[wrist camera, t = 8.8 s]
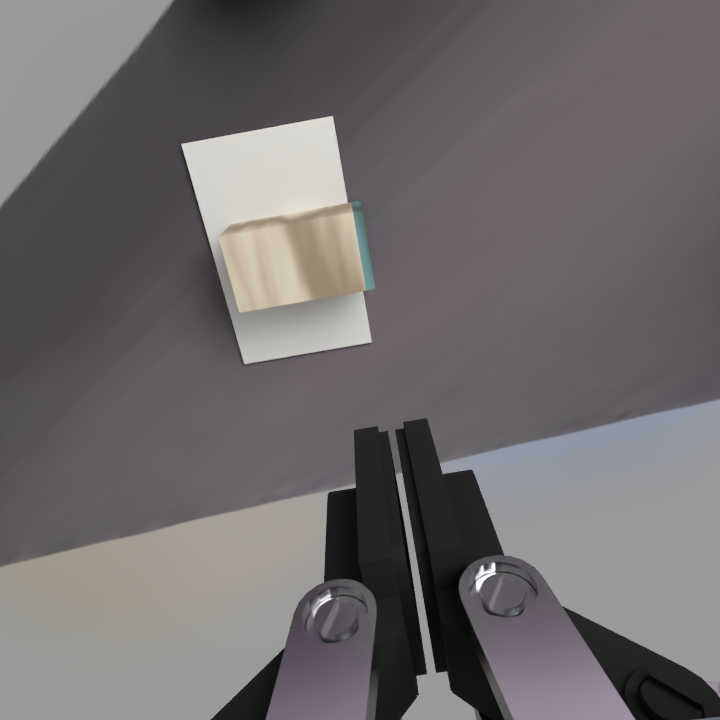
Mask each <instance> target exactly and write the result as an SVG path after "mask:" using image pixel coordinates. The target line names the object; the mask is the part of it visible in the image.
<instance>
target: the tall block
mask: <svg viewBox="0 0 720 720" xmlns="http://www.w3.org/2000/svg"><path fill="white" fill-rule="evenodd" d="M218 238H219V241H220V245H221V249H222V252H223V256H224V259H225V263H226V267H227V270H228V274H229V277H230V281H231V285H232V288H233V292H234V295H235V299H236V302H237V306H238V310H239V313H241V312H247V311H253V310H258V309H264V308H270V307H276V306H281V305H287V304H293V303H298V302H304V301H310V300H316V299H321V298H327V297H333V296H338V295H344V294H350V293H356V292H361V291H367V290H373V289H375V283H374V277H373V271H372V265H371V259H370V253H369V246H368V240H367V234H366V228H365V222H364V216H363V210H362V207H361V203H360V201H356V202H350V203H345V204H339V205H334V206H328V207H323V208H317V209H312V210H306V211H301V212H295V213H290V214H284V215H278V216H273V217H267V218H262V219H256V220H251V221H245V222H240V223H234V224H231V225H230V226H229V227H228V228H227V229H226V230H225V231H224V232H223V233H222V234H221V235H220V236H219V237H218Z"/></svg>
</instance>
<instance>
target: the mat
mask: <svg viewBox="0 0 720 720" xmlns="http://www.w3.org/2000/svg"><path fill="white" fill-rule="evenodd" d="M181 145H182V148H183V152H184V155H185V159H186V162H187V166H188V169H189V173H190V176H191V180H192V183H193V187H194V190H195V194H196V197H197V201H198V204H199V208H200V211H201V215H202V218H203V222H204V225H205V229H206V232H207V236H208V239H209V243H210V246H211V250H212V253H213V257H214V260H215V264H216V267H217V271H218V274H219V278H220V281H221V284H222V288H223V291H224V295H225V298H226V302H227V305H228V309H229V312H230V316H231V319H232V323H233V326H234V330H235V333H236V337H237V340H238V344H239V347H240V351H241V354H242V358H243V361H244V364H248V363H254V362H260V361H266V360H272V359H278V358H283V357H289V356H295V355H301V354H307V353H313V352H318V351H324V350H330V349H336V348H342V347H348V346H353V345H359V344H365V343H371V342H372V341H371V335H370V329H369V323H368V317H367V312H366V306H365V300H364V294H363V291H361V292H356V293H350V294H344V295H338V296H333V297H327V298H321V299H316V300H310V301H304V302H298V303H293V304H287V305H281V306H276V307H270V308H264V309H258V310H253V311H247V312H241V313H239V310H238V306H237V302H236V299H235V295H234V292H233V288H232V285H231V281H230V277H229V274H228V270H227V267H226V263H225V259H224V256H223V252H222V249H221V245H220V241H219V238H218V237H219V236H220V235H221V234H222V233H223V232H224V231H225V230H226V229H227V228H228V227H229V226H230V225H231V224H234V223H240V222H245V221H251V220H256V219H262V218H267V217H273V216H278V215H284V214H290V213H295V212H301V211H306V210H312V209H317V208H323V207H328V206H334V205H339V204H345V203H348V202H347V196H346V190H345V184H344V179H343V173H342V167H341V161H340V155H339V150H338V144H337V138H336V132H335V126H334V121H333V116H330V117H324V118H319V119H314V120H308V121H303V122H298V123H292V124H287V125H281V126H276V127H271V128H265V129H260V130H255V131H249V132H244V133H238V134H233V135H228V136H222V137H217V138H212V139H206V140H201V141H195V142H190V143H185V144H181Z"/></svg>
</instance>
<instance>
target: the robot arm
mask: <svg viewBox="0 0 720 720" xmlns="http://www.w3.org/2000/svg"><path fill="white" fill-rule="evenodd" d="M403 424H404V428H403V429H397V430H395V432H396V438H397V444H398V450H399V456H400V462H401V468H402V473H403V479H404V485H405V491H406V497H407V503H408V509H409V515H410V521H411V527H412V533H413V539H414V544H415V551H416V557H417V563H418V569H419V574H420V580H421V586H422V592H423V598H424V604H425V610H426V615H427V621H428V627H429V633H430V639H431V645H432V651H433V657H434V662H435V669H436V673H438V672H445V671H447V672H448V677H449V682H450V688H451V690H452V692H453V693H454V694H455V695H457V696H458V697H460V698H461V699H462V700H464V701H465V702H467V703H468V704H470V705H471V706H472V707H474V710H475V715H476V719H477V720H720V683H719V682H706V681H704V680H703V679H702V678H701V677H699V676H697V675H696V674H694V673H693V672H691V671H689V670H688V669H686V668H685V667H683V666H681V665H679V664H677V663H675V662H673V661H671V660H669V659H667V658H665V657H663V656H661V655H659V654H657V653H655V652H653V651H651V650H649V649H647V648H645V647H643V646H640V645H639V644H637V643H635V642H633V641H631V640H629V639H627V638H625V637H623V636H621V635H619V634H617V633H615V632H613V631H611V630H609V629H607V628H605V627H603V626H601V625H599V624H597V623H595V622H593V621H591V620H589V619H587V618H585V617H583V616H581V615H579V614H577V613H575V612H573V611H571V610H569V609H567V608H565V607H563V606H561V604H560V602H559V601H558V599H557V598H556V596H555V595H554V593H553V592H552V590H551V589H550V587H549V586H548V584H547V582H546V581H545V579H544V578H543V576H542V575H541V574H540V573H539V572H538V571H537V570H536V569H535V567H533V566H531V565H530V564H528V563H527V562H525V561H523V560H521V559H518V558H514V557H512V556H504V553H503V551H502V548H501V545H500V543H499V540H498V537H497V534H496V532H495V529H494V527H493V524H492V521H491V518H490V516H489V513H488V510H487V507H486V505H485V502H484V500H483V497H482V494H481V492H480V489H479V486H478V483H477V480H476V478H475V475H474V473H473V471H472V470H466V471H460V472H454V473H447V474H442V471H441V467H440V463H439V460H438V456H437V453H436V449H435V446H434V442H433V438H432V435H431V431H430V428H429V424H428V421H427V418H425V419H419V420H413V421H407V422H403ZM354 445H355V474H356V488H353V489H347V490H340V491H334V492H329V494H328V503H327V525H326V550H325V575H324V583H322V584H320V585H317V586H316V587H315V588H313V589H312V590H310V591H309V592H308V593H307V594H306V595H305V596H304V597H303V598H302V600H301V601H300V602H299V604H298V606H297V608H296V611H295V613H294V616H293V619H292V624H291V627H290V631H289V635H288V638H287V642H286V646H285V648H284V649H283V650H282V651H281V652H280V653H279V654H278V655H277V656H276V657H275V658H274V659H273V660H272V661H271V662H270V663H269V664H268V665H267V666H266V667H265V668H264V669H263V670H261V671H260V672H259V674H257V675H256V676H255V677H254V678H253V679H252V680H251V681H250V682H249V683H248V684H247V685H246V686H245V687H244V688H243V689H242V690H241V691H240V692H239V693H238V694H237V695H236V696H235V697H234V698H233V699H232V700H231V701H230V702H229V703H227V704H226V705H225V706H224V708H222V709H221V710H220V711H219V712H218V713H217V714H216V715H215V716H214V717H213V718H212V719H211V720H402V716H403V715H404V713H405V712H406V711H407V709H408V708H409V707H410V706H411V704H412V703H413V702H414V700H415V699H416V698H417V695H419V694H418V686H417V679H416V676H417V675H424V674H427V671H426V664H425V658H424V651H423V645H422V638H421V632H420V624H419V618H418V611H417V605H416V598H415V591H414V585H413V578H412V572H411V565H410V558H409V552H408V545H407V539H406V532H405V526H404V520H403V516H402V510H401V503H400V498H399V492H398V486H397V481H396V475H395V469H394V464H393V458H392V453H391V447H390V441H389V436H388V431H385V432H379V431H378V427H377V426H376V427H370V428H364V429H358V430H354Z"/></svg>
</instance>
